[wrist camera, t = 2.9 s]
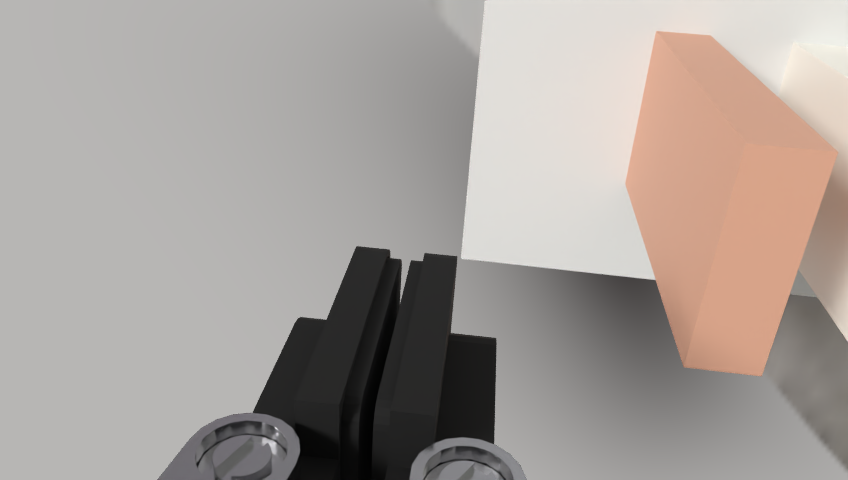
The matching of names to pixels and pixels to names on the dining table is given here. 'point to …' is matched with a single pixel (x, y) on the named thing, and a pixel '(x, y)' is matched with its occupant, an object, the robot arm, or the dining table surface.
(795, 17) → the runner mat
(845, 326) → the domino
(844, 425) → the dining table surface
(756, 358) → the domino
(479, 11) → the dining table surface
